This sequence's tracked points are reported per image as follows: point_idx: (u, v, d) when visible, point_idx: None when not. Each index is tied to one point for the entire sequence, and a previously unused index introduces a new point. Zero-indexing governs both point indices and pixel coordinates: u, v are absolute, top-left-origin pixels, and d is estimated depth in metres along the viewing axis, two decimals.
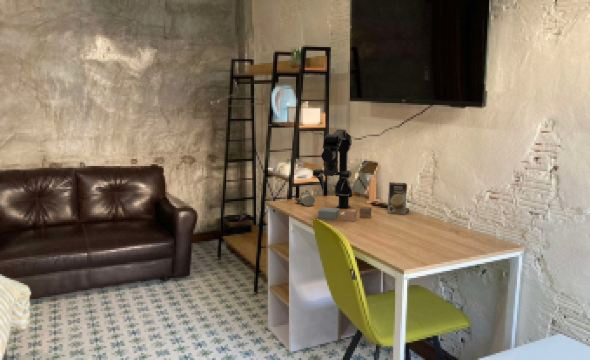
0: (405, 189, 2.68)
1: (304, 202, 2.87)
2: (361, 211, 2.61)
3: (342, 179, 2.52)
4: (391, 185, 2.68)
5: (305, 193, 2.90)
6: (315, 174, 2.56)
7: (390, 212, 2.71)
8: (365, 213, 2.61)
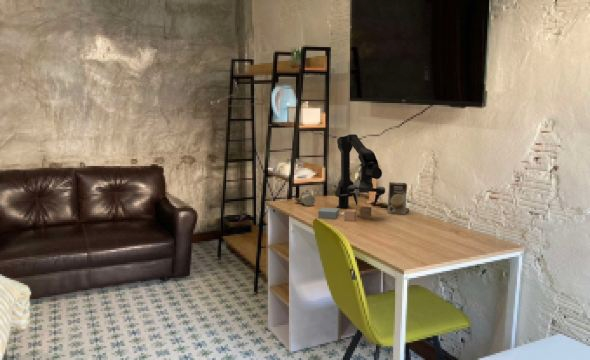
0: (405, 189, 2.68)
1: (304, 202, 2.87)
2: (361, 211, 2.61)
3: (377, 195, 2.58)
4: (391, 185, 2.68)
5: (305, 193, 2.90)
6: (350, 190, 2.61)
7: (390, 212, 2.71)
8: (365, 213, 2.61)
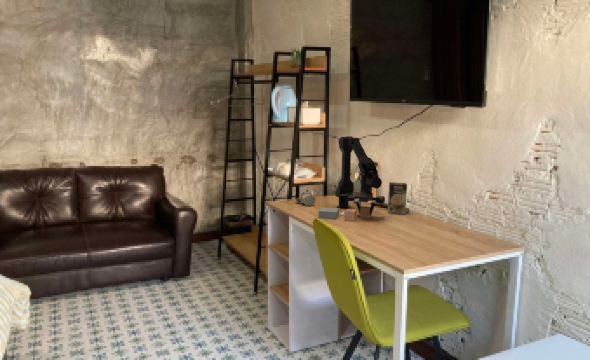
0: (405, 189, 2.68)
1: (305, 202, 2.87)
2: (361, 211, 2.61)
3: (373, 204, 2.59)
4: (391, 185, 2.68)
5: (306, 193, 2.90)
6: (350, 199, 2.62)
7: (390, 212, 2.71)
8: (365, 213, 2.61)
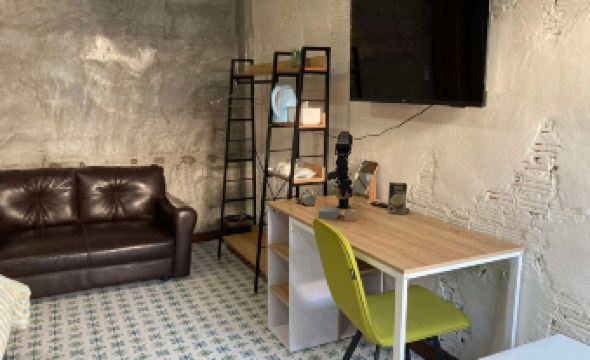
0: (405, 189, 2.68)
1: (305, 202, 2.88)
2: (336, 190, 2.63)
3: (339, 185, 2.56)
4: (391, 185, 2.68)
5: (306, 193, 2.90)
6: None
7: (390, 212, 2.71)
8: (337, 193, 2.61)
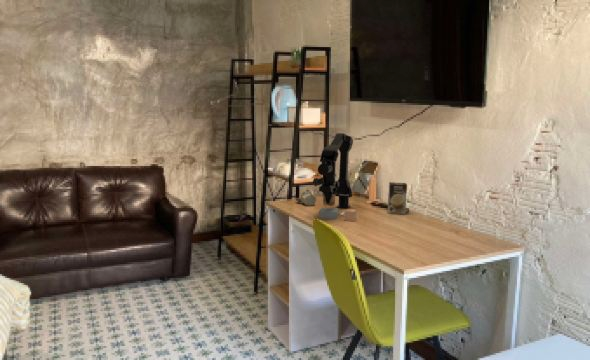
0: (405, 189, 2.68)
1: (306, 202, 2.88)
2: None
3: None
4: (391, 185, 2.68)
5: (306, 193, 2.91)
6: None
7: (390, 212, 2.71)
8: None
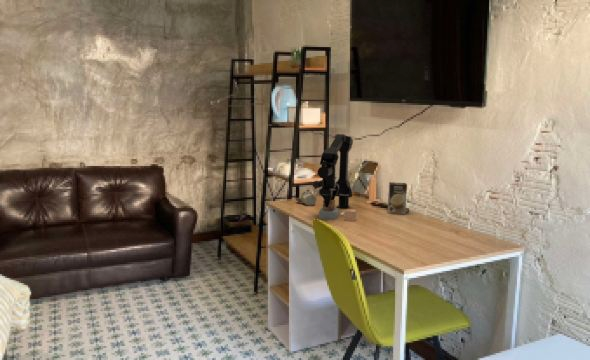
0: (405, 189, 2.68)
1: (306, 202, 2.88)
2: None
3: None
4: (391, 185, 2.68)
5: (307, 193, 2.91)
6: None
7: (390, 212, 2.71)
8: None
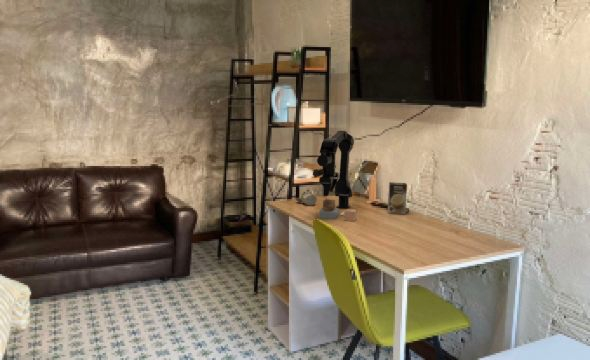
0: (405, 189, 2.68)
1: (306, 202, 2.88)
2: None
3: None
4: (391, 185, 2.68)
5: (307, 193, 2.91)
6: None
7: (390, 212, 2.71)
8: None
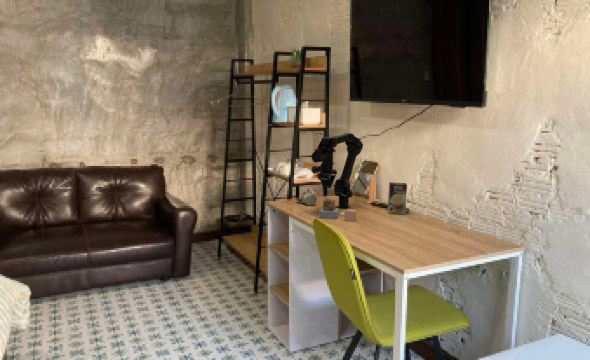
0: (405, 189, 2.68)
1: (307, 202, 2.88)
2: None
3: None
4: (391, 185, 2.68)
5: (307, 193, 2.91)
6: None
7: (390, 212, 2.71)
8: None
